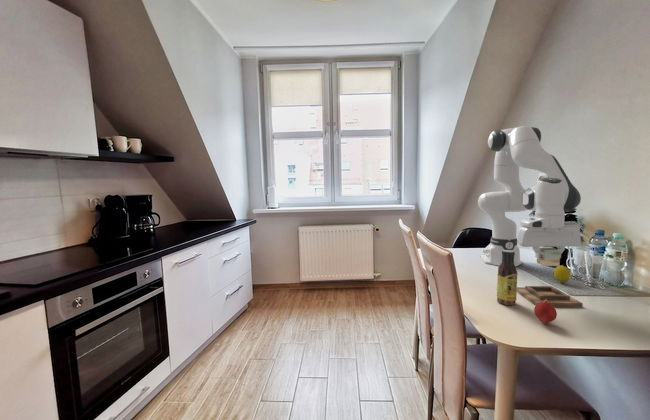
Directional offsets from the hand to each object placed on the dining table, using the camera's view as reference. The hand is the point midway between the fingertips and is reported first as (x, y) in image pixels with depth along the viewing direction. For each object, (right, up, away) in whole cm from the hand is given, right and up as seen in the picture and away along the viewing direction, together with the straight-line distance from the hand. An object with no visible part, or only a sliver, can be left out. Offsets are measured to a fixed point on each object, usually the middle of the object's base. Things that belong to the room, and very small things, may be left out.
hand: (547, 257), depth 109 cm
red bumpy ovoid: (-14, -19, -16) cm, 28 cm away
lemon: (+19, -14, +17) cm, 28 cm away
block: (0, -2, 0) cm, 2 cm away
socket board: (+1, -16, +2) cm, 16 cm away
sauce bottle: (-16, -17, 0) cm, 23 cm away
